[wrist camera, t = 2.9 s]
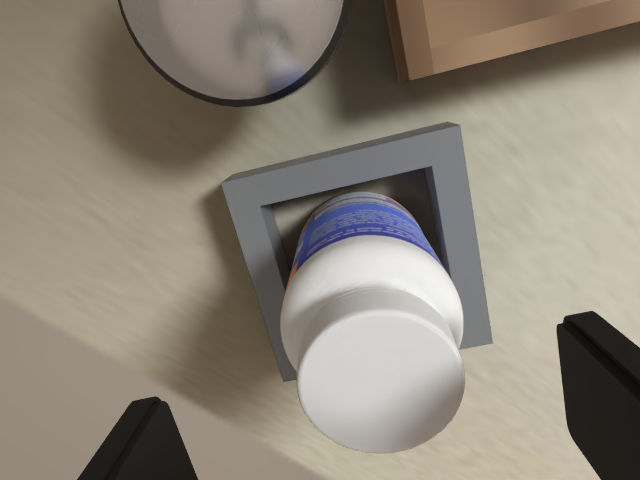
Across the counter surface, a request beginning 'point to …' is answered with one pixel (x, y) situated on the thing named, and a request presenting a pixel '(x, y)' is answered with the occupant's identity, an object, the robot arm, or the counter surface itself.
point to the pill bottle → (372, 326)
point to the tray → (490, 29)
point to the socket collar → (351, 168)
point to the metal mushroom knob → (237, 44)
